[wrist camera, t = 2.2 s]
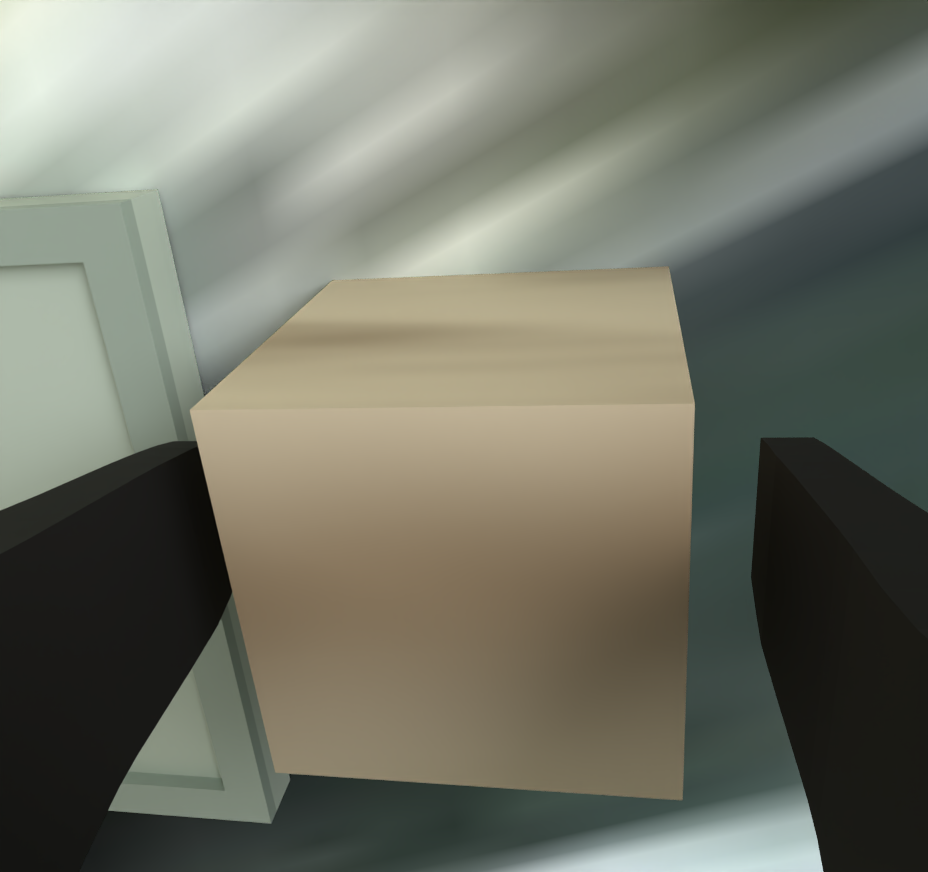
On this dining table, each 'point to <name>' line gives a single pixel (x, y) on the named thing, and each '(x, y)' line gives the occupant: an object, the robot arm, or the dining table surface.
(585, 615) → the maple cube
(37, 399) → the grey green picture frame
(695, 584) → the dining table surface
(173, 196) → the dining table surface
